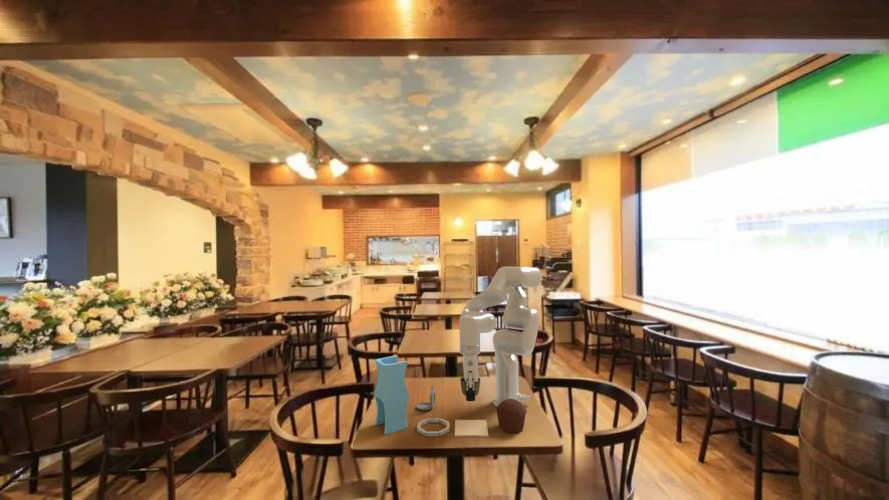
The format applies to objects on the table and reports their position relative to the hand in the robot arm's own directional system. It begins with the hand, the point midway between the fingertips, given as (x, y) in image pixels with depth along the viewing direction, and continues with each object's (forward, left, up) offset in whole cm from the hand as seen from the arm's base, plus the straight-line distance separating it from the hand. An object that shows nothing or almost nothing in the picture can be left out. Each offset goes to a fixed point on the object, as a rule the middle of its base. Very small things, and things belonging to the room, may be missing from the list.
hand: (470, 396), depth 145 cm
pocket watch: (+18, -18, -12) cm, 28 cm away
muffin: (-15, -1, -12) cm, 19 cm away
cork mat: (0, 0, -12) cm, 12 cm away
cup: (0, 0, -2) cm, 2 cm away
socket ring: (+14, 0, -12) cm, 18 cm away
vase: (+30, -2, -12) cm, 32 cm away
